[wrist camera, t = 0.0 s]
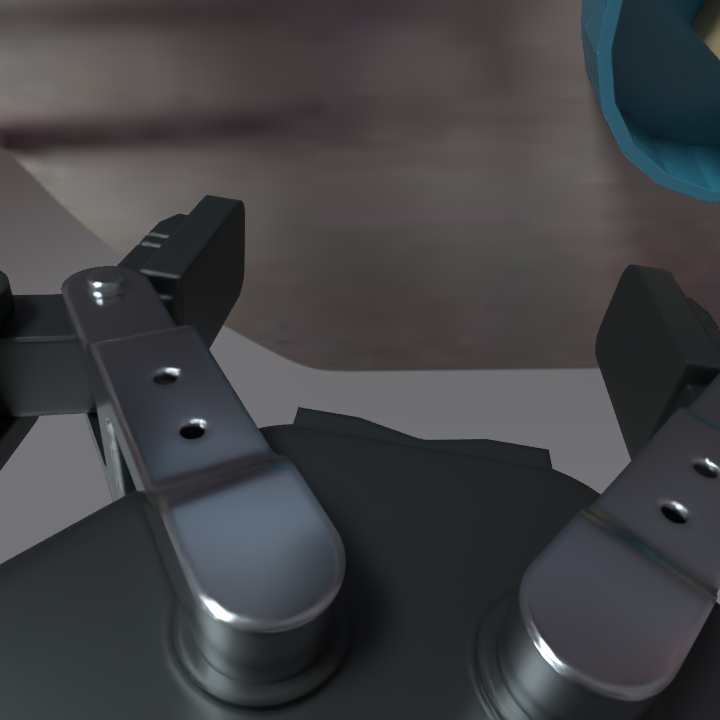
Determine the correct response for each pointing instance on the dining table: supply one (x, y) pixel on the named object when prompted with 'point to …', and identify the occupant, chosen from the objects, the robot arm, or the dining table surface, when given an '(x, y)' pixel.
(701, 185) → the tin
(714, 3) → the block
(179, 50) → the dining table surface
